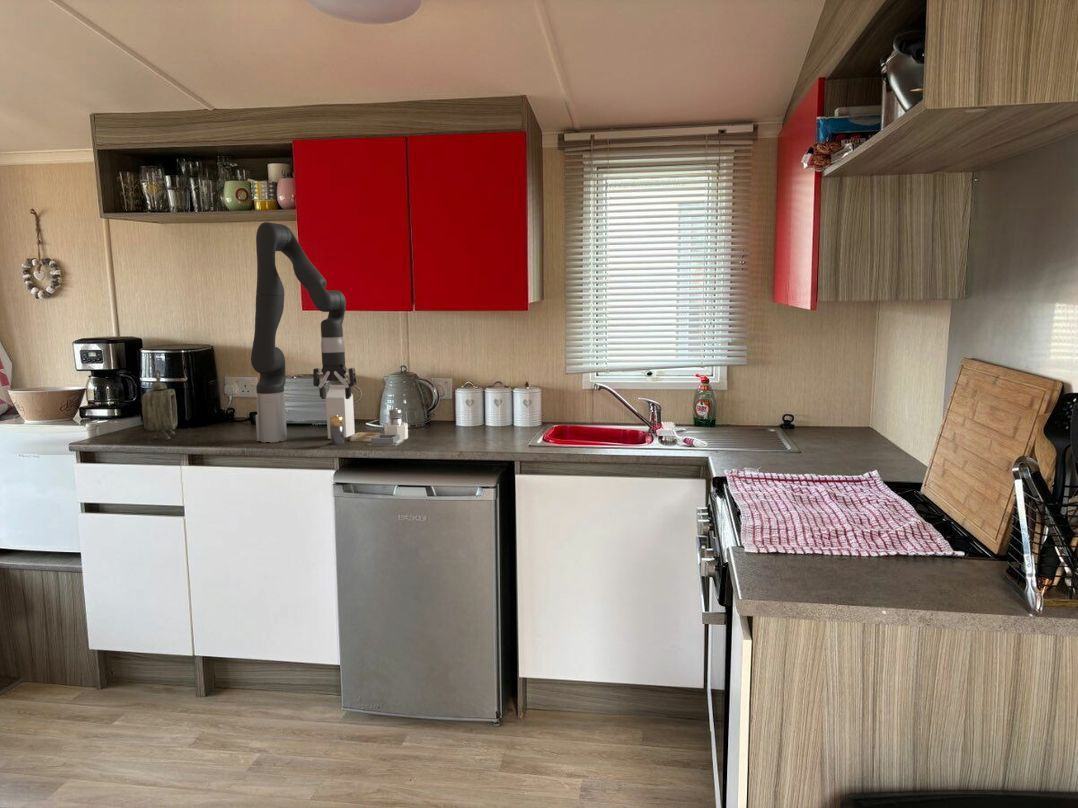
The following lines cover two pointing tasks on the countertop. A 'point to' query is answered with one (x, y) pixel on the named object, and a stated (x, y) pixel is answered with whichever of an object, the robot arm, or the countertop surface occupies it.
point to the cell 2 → (395, 417)
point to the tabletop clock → (159, 408)
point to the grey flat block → (385, 440)
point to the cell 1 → (337, 430)
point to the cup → (397, 430)
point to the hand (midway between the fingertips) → (335, 398)
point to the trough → (362, 436)
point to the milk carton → (340, 408)
